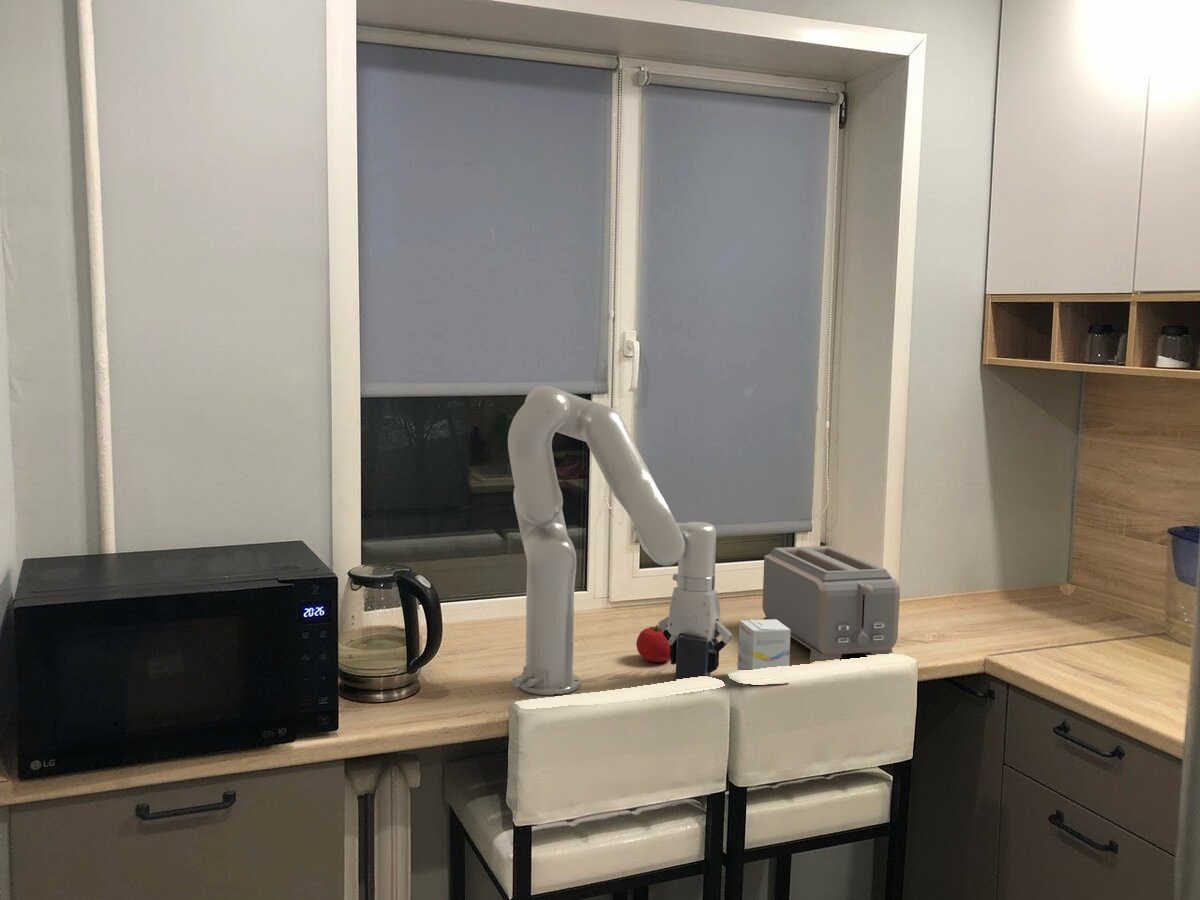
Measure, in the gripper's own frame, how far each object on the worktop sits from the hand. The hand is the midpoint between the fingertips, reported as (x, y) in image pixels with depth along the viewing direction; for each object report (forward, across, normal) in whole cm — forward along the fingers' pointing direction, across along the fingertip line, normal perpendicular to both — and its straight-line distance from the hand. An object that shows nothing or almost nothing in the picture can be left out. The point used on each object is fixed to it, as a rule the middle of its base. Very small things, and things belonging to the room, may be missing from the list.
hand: (693, 666), depth 208 cm
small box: (+3, 0, 0) cm, 3 cm away
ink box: (+3, +11, +10) cm, 15 cm away
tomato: (+3, -13, +7) cm, 15 cm away
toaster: (+4, +13, +41) cm, 43 cm away
